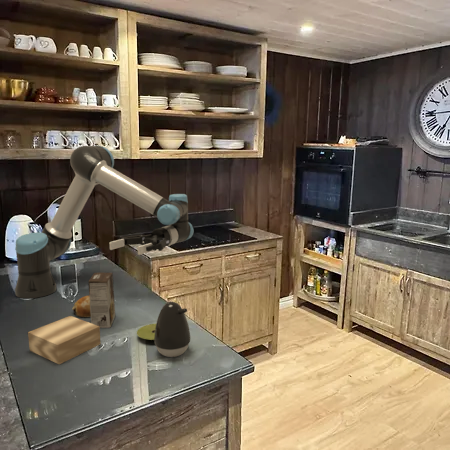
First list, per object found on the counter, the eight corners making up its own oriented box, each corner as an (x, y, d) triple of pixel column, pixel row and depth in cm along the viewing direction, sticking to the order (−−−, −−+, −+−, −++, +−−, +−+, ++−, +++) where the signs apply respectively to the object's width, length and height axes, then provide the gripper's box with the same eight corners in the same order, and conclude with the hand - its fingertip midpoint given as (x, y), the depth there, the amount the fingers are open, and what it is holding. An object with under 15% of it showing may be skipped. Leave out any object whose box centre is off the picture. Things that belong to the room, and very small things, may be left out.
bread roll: (90, 328, 141) (98, 309, 139) (65, 314, 142) (72, 295, 140) (104, 317, 150) (111, 299, 148) (80, 304, 151) (87, 286, 149)
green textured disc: (180, 333, 129) (180, 327, 129) (158, 348, 119) (158, 342, 119) (152, 326, 134) (152, 320, 134) (129, 340, 125) (128, 334, 124)
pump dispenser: (176, 365, 110) (174, 312, 107) (147, 355, 115) (145, 304, 113) (198, 349, 119) (197, 300, 116) (170, 341, 124) (168, 293, 121)
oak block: (29, 351, 119) (27, 332, 117) (71, 333, 130) (70, 315, 129) (59, 365, 111) (57, 345, 110) (100, 345, 122) (99, 326, 121)
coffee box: (96, 317, 142) (93, 272, 139) (115, 316, 142) (113, 271, 139) (90, 328, 133) (87, 280, 130) (110, 327, 133) (108, 280, 130)
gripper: (189, 250, 154) (151, 263, 136) (140, 242, 167) (99, 254, 149) (189, 230, 152) (150, 241, 135) (139, 224, 165) (98, 234, 148)
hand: (123, 248), depth 142 cm, fingers open, 13 cm apart
